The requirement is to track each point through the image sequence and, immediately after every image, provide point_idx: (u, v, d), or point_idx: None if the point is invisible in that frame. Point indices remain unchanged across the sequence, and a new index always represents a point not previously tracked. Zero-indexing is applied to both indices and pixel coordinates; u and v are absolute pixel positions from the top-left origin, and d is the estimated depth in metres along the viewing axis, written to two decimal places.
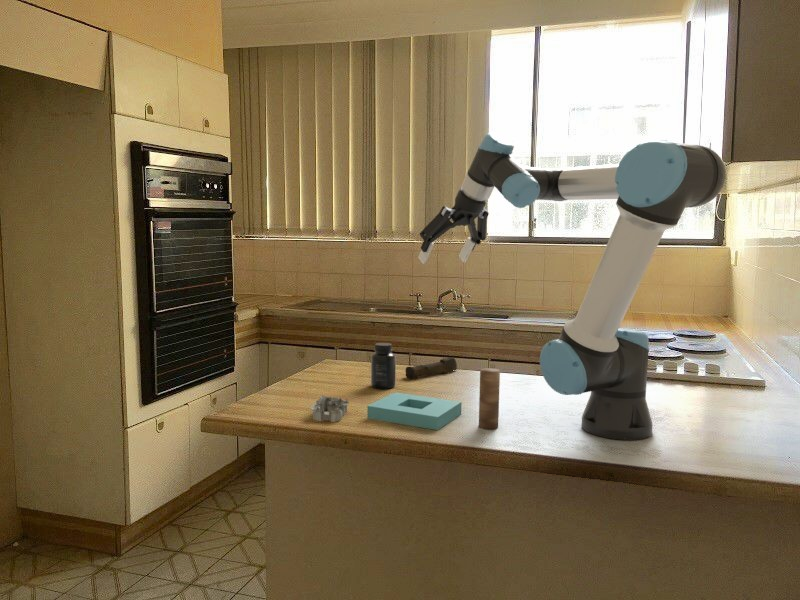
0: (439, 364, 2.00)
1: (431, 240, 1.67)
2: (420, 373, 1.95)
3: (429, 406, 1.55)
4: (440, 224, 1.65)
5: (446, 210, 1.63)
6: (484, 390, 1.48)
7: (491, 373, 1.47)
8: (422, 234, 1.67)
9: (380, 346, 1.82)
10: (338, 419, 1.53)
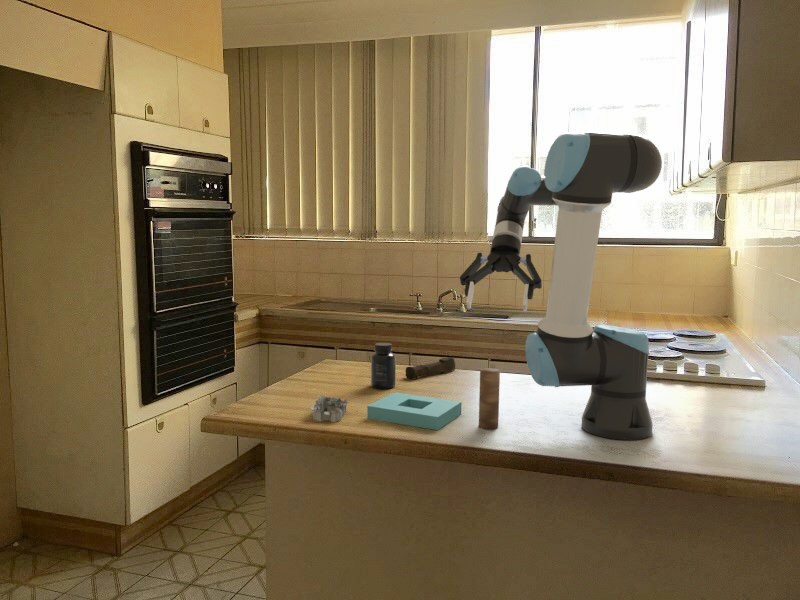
0: (438, 364, 2.00)
1: (468, 278, 1.67)
2: (420, 373, 1.95)
3: (429, 406, 1.55)
4: (473, 263, 1.69)
5: None
6: (484, 390, 1.48)
7: (491, 373, 1.47)
8: None
9: (380, 346, 1.82)
10: (338, 419, 1.54)
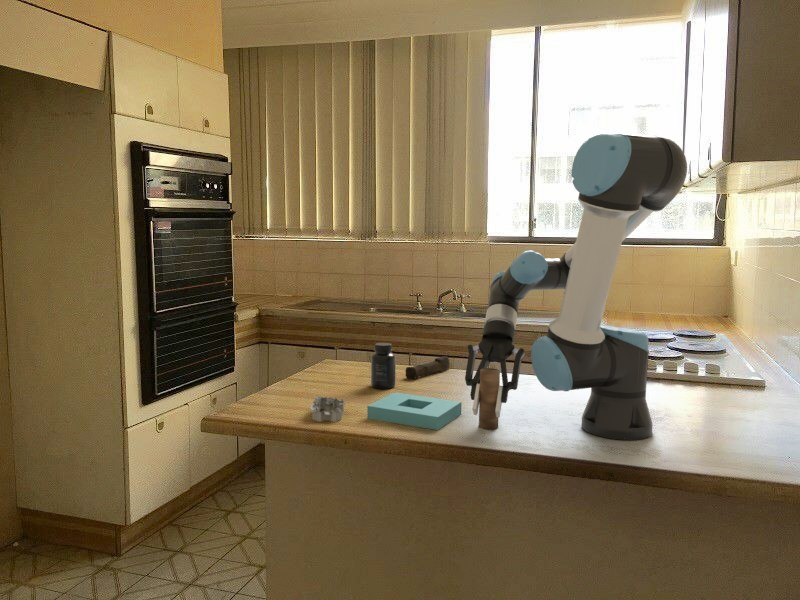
0: (436, 363, 2.01)
1: (474, 380, 1.51)
2: (420, 373, 1.95)
3: (429, 406, 1.55)
4: (470, 359, 1.55)
5: None
6: (484, 390, 1.48)
7: (491, 373, 1.47)
8: None
9: (380, 346, 1.82)
10: (338, 419, 1.54)
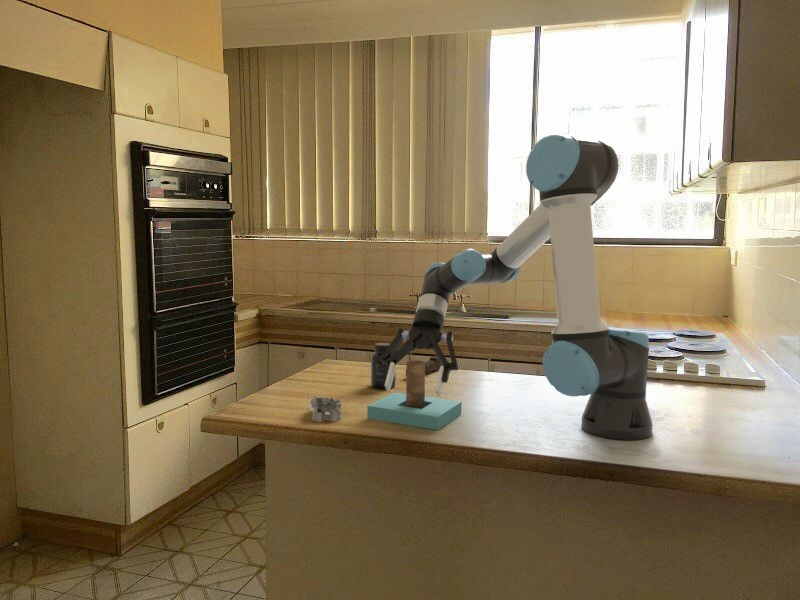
0: (432, 362, 2.02)
1: (389, 358, 1.60)
2: None
3: (429, 406, 1.55)
4: (394, 341, 1.63)
5: None
6: (410, 381, 1.55)
7: (416, 365, 1.54)
8: None
9: (380, 346, 1.82)
10: (338, 418, 1.54)
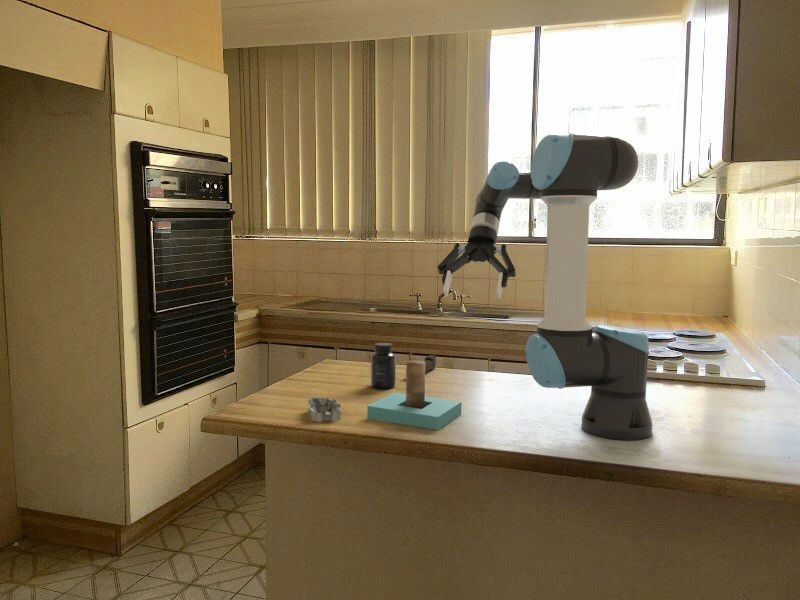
0: (429, 362, 2.03)
1: (446, 267, 1.74)
2: None
3: (429, 406, 1.55)
4: (451, 253, 1.76)
5: None
6: (410, 381, 1.55)
7: (416, 365, 1.54)
8: None
9: (380, 346, 1.82)
10: (338, 418, 1.54)
